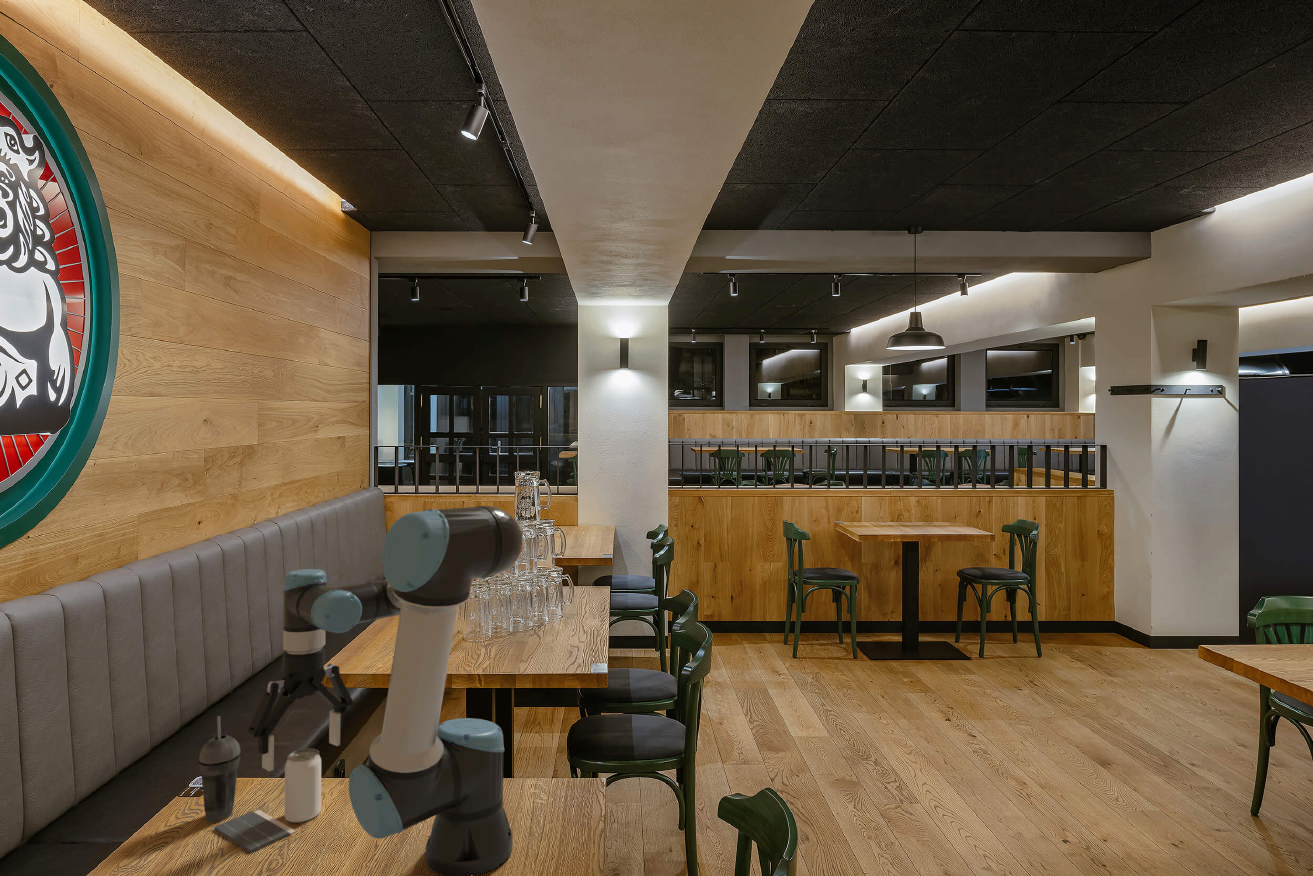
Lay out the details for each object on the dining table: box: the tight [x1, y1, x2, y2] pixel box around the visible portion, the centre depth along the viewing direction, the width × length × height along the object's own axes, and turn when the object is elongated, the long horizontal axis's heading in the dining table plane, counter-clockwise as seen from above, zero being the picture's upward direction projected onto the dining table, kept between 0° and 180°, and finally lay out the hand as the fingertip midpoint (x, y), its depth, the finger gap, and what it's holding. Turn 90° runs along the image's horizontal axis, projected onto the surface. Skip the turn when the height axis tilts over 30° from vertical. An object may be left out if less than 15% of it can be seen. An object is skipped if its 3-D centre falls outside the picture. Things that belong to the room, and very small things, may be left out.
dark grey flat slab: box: [214, 809, 297, 854], centre depth 136 cm, size 14×8×1 cm, turn 56°
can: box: [284, 748, 322, 824], centre depth 142 cm, size 6×6×12 cm
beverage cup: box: [197, 715, 242, 823], centre depth 141 cm, size 7×7×20 cm
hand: (302, 756), depth 142 cm, fingers open, 13 cm apart
